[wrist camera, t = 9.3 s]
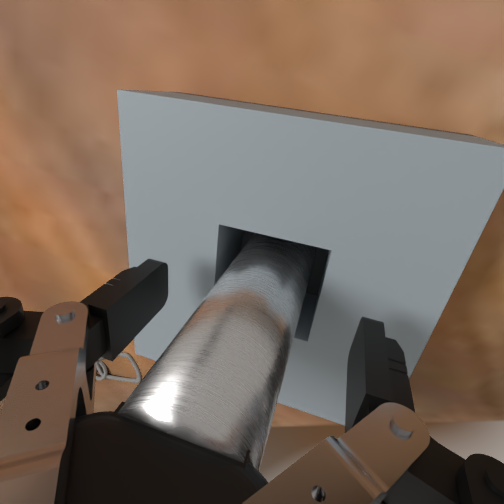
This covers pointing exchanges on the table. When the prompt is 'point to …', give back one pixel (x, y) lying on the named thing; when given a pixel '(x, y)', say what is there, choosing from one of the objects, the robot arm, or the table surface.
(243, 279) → the pin
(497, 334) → the table surface
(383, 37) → the table surface
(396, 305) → the bore block
